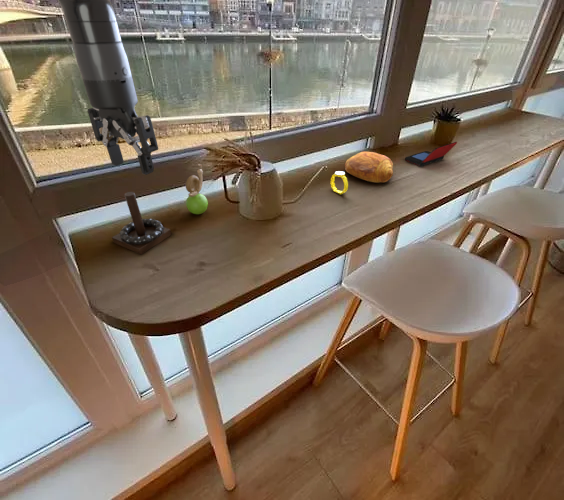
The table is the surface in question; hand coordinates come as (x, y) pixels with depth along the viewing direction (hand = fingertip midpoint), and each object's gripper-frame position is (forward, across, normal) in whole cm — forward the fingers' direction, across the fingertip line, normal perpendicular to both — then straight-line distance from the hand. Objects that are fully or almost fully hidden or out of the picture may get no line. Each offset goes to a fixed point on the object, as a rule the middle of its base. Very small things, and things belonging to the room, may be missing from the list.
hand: (133, 168), depth 63 cm
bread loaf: (+18, +30, +62) cm, 71 cm away
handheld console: (+17, +44, +83) cm, 96 cm away
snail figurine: (+18, -1, +16) cm, 24 cm away
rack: (+18, -4, 0) cm, 18 cm away
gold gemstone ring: (+18, +26, +45) cm, 55 cm away
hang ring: (+15, -3, 0) cm, 16 cm away
